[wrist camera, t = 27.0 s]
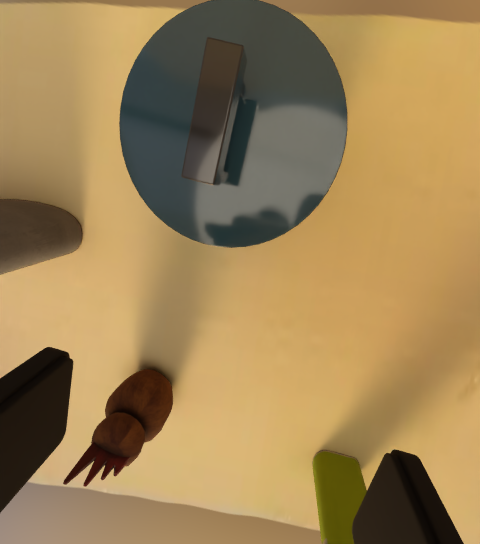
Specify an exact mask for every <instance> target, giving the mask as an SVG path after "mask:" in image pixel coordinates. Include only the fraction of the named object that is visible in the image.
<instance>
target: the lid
mask: <svg viewBox="0 0 480 544" xmlns="http://www.w3.org/2000/svg"><path fill="white" fill-rule="evenodd" d="M119 124H120V140H121V146H122V152H123V157H124V160H125V164H126V167H127V170H128V172H129V175H130V177H131V180H132V182H133V184H134V186H135V187H136V189H137V191H138V193H139V195H140V196H141V197H142V199H143V200H144V202H145V203H146V204H147V206H148V207H149V208H150V209H151V210H152V211H153V212H154V214H155V215H156V216H157V217H158V218H159V219H161V220H162V221H163V222H164V223H165V224H166V225H168V226H169V227H170V228H172V229H174V230H175V231H177V232H178V233H180V234H182V235H184V236H186V237H188V238H190V239H192V240H195V241H198V242H201V243H203V244H207V245H212V246H217V247H230V248H233V247H247V246H252V245H257V244H261V243H264V242H267V241H270V240H272V239H275V238H277V237H279V236H281V235H283V234H285V233H286V232H288V231H289V230H291V229H292V228H294V227H296V226H297V225H298V224H299V223H301V222H302V221H303V220H304V219H305V218H306V217H308V216H309V215H310V214H311V212H312V211H313V210H314V209H315V208H316V207H317V206H318V205H319V203H320V202H321V201H322V199H323V198H324V196H325V195H326V193H327V192H328V190H329V188H330V187H331V185H332V183H333V181H334V179H335V177H336V174H337V172H338V169H339V167H340V164H341V161H342V157H343V153H344V149H345V144H346V136H347V106H346V98H345V93H344V89H343V85H342V81H341V78H340V75H339V73H338V70H337V68H336V66H335V63H334V61H333V59H332V58H331V56H330V54H329V53H328V51H327V49H326V47H325V46H324V45H323V44H322V42H321V41H320V40H319V38H318V37H317V36H316V35H315V33H313V32H312V31H311V30H310V29H309V28H308V27H307V26H306V25H305V24H304V23H303V22H302V21H300V20H299V19H297V18H296V17H295V16H293V15H292V14H290V13H289V12H287V11H285V10H283V9H280V8H278V7H277V6H275V5H271V4H268V3H265V2H262V1H259V0H211V1H207V2H204V3H201V4H198V5H195V6H193V7H191V8H189V9H187V10H185V11H183V12H181V13H179V14H178V15H176V16H175V17H174V18H172V19H171V20H169V21H168V22H167V23H165V24H164V25H163V26H162V27H161V28H160V29H159V30H158V31H157V32H156V33H155V34H154V35H153V36H152V37H151V38H150V40H149V41H148V42H147V43H146V45H145V46H144V47H143V49H142V50H141V52H140V54H139V55H138V57H137V59H136V60H135V62H134V64H133V67H132V69H131V71H130V73H129V75H128V78H127V82H126V85H125V88H124V91H123V97H122V102H121V108H120V123H119Z"/></svg>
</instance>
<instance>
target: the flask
mask: <svg viewBox="0 0 480 544" xmlns="http://www.w3.org/2000/svg"><path fill="white" fill-rule="evenodd" d="M81 240H82V231H81V227H80V225H79V223H78V222H77V220H76V219H75V218H74V217H73V216H72V215H71V214H69V213H68V212H66V211H64V210H62V209H60V208H57V207H54V206H51V205H47V204H43V203H39V202H33V201H26V200H15V199H0V275H1V274H4V273H7V272H11V271H14V270H17V269H20V268H24V267H27V266H30V265H33V264H37V263H40V262H43V261H46V260H50V259H53V258H56V257H59V256H63V255H66V254H69V253H72V252H74V251H75V250H76V249H78V247H79V245H80V243H81Z"/></svg>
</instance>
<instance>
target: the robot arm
mask: <svg viewBox="0 0 480 544" xmlns="http://www.w3.org/2000/svg"><path fill="white" fill-rule="evenodd" d="M72 370H73V360H72V359H70V358H69V353H68V352H65V351H62V350H58V349H55V348H52V347H47V348H45V349H43V350H42V351H40V352H39V353H37V354H36V355H34V356H33V357H31V358H30V359H28V360H27V361H25V362H24V363H22V364H21V365H20V366H18V367H17V368H15V369H14V370H12V371H11V372H9V373H8V374H6V375H5V376H3V377H2V378H0V512H1V511H2V510H3V509H4V508H5V507H6V505H7V504H8V503H9V502H10V501H11V500H12V498H13V497H14V496H15V495H16V494H17V493H18V492H19V490H20V489H21V488H22V487H23V486H24V485H25V483H26V482H27V481H28V480H29V479H30V478H31V476H32V475H33V474H34V473H35V472H36V471H37V470H38V468H39V467H40V466H41V465H42V464H43V463H44V461H45V460H46V459H47V458H48V457H49V456H50V454H51V453H52V452H53V451H54V450H55V449H56V447H57V446H58V445H59V444H60V443H61V441H62V439H63V437H64V435H65V432H66V425H67V416H68V407H69V398H70V388H71V379H72ZM352 535H353V541H354V544H464V543H463V542H462V540H461V538H460V536H459V534H458V532H457V530H456V528H455V526H454V524H453V522H452V520H451V518H450V516H449V515H448V513H447V511H446V509H445V507H444V505H443V503H442V501H441V499H440V497H439V495H438V493H437V491H436V489H435V487H434V486H433V484H432V482H431V480H430V478H429V476H428V474H427V472H426V470H425V468H424V466H423V464H422V462H421V460H420V459H419V458H418V457H417V456H416V455H413V454H410V453H406V452H403V451H399V450H393V451H392V452H391V453H386V454H385V455H384V457H383V459H382V461H381V463H380V465H379V467H378V470H377V472H376V474H375V476H374V478H373V480H372V482H371V484H370V486H369V488H368V490H367V493H366V495H365V497H364V499H363V501H362V503H361V505H360V507H359V509H358V511H357V513H356V516H355V518H354V520H353V524H352Z"/></svg>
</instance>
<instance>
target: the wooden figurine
mask: <svg viewBox="0 0 480 544" xmlns="http://www.w3.org/2000/svg"><path fill="white" fill-rule="evenodd" d="M172 405H173V394H172V386H171V385H170V383H169V381H168V380H167V379H166V378H165V377H164V376H163V375H162V374H160V373H159V372H157V371H154V370H152V369H144V370H141V371H139V372H136V373H135V374H133V375H131V376H130V377H129V378H127V379H126V380H125V381H124V382H123V383H122V384H121V385H120V386H119V387H118V388H117V389H116V390H115V391H114V392H113V393H112V395H111V396H110V397H109V399H108V401H107V404H106V408H105V414H106V418H105V419H104V420H103V421H102V422H101V423H100V424H99V425H98V426H97V428H96V429H95V431H94V434H93V436H92V442H91V443H92V444H91V446H90V447H89V448H88V449H87V451H86V452H85V453H84V455H83V456H82V457H81V459H80V460H79V461H78V463H77V464H76V465H75V467H74V468H73V469H72V471H71V472H70V473H69V475H68V476H67V477H66V479H65V480H64V483H63V484H65V485H66V484H67V483H69V482H70V481H71V480H72V479H73V478H74V477H76V476H77V475H78V474H79V473H80V472H81V471H83V470H84V469H85V468H86V467H87V466H88V465H90V464H91V463H92V462H93V461H94V463H93V465H92V467H91V469H90V472H89V474H88V476H87V478H86V480H85V482H84V486H85V487H86V486H87V485H88V484H89V483H90V482H91V480H92V479H93V478H94V477H95V476H96V474H97V473H98V472H99V471H100V470H101V469H102V467H103V466H104V465H105V468H104V471H103V474H102V477H101V480H104V479H105V478H106V476H107V475H108V474H109V472H110V471H111V470H112V469H113V468H114V476H117V475H118V473H119V472H120V471H121V470H122V469H123V468H124V466H129V465H130V464H131V463H132V462H133V461H134V460H135V459H136V458H137V457H138V455H139V454H140V452H141V449H142V446H143V444H144V442H148V441H150V440H152V439H153V438H154V437H155V436H156V435H157V434H158V433H159V432H160V431H161V430H162V428H163V425H164V423H165V422H166V420H167V418H168V416H169V414H170V412H171V409H172Z"/></svg>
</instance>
